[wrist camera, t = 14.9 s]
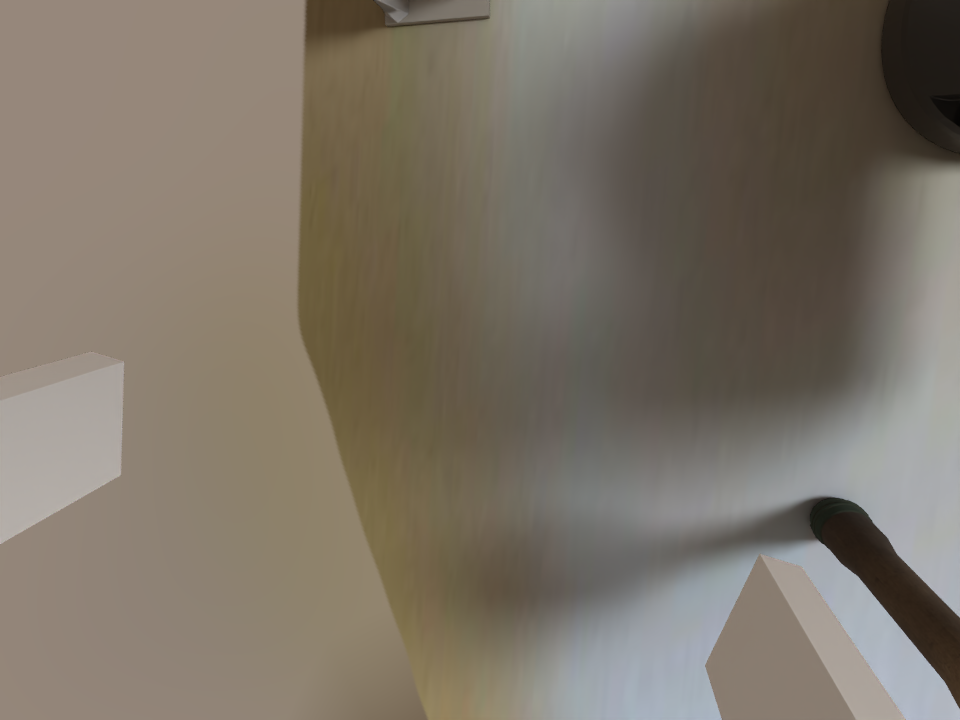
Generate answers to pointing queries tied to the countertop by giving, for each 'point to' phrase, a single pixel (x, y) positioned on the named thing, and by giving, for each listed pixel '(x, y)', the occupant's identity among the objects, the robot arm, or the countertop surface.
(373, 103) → the countertop surface
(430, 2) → the skyscraper
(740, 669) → the robot arm
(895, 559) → the stick grenade
